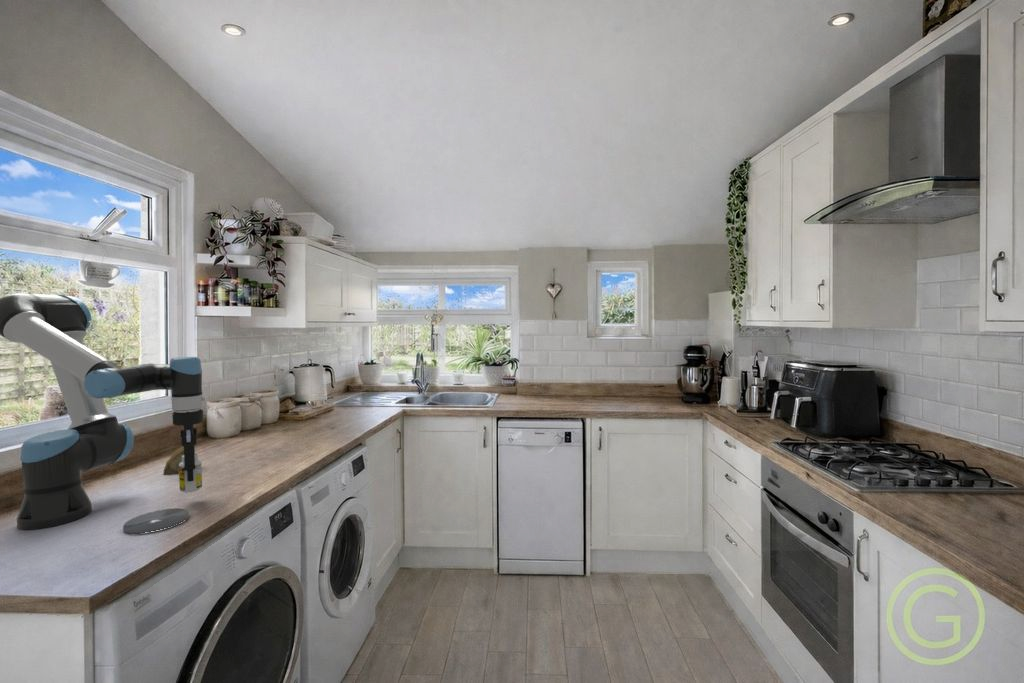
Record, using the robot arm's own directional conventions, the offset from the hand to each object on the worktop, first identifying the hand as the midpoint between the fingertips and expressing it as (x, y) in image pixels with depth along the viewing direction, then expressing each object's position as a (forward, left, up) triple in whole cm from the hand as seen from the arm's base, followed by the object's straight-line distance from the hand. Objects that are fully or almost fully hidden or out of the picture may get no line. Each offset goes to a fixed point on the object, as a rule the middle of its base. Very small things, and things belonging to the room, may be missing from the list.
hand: (191, 488), depth 144 cm
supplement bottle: (0, 0, -1) cm, 1 cm away
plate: (-8, -12, -4) cm, 15 cm away
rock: (-4, +42, -5) cm, 42 cm away
